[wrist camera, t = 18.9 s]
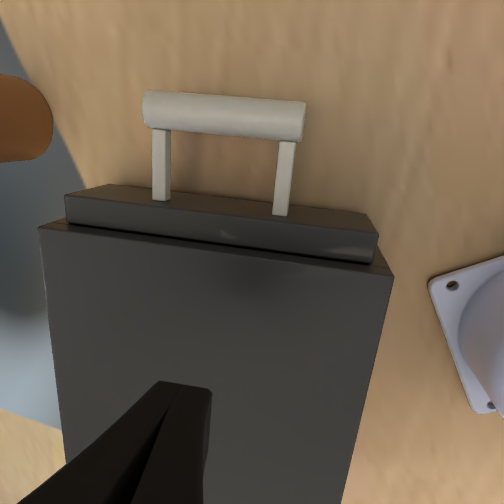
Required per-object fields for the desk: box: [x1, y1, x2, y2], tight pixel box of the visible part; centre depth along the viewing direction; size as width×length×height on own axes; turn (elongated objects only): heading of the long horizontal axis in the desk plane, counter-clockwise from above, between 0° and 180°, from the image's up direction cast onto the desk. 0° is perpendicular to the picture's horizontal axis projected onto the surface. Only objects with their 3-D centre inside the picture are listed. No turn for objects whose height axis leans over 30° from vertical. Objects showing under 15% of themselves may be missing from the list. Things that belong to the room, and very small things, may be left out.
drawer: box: [64, 90, 379, 263], centre depth 16 cm, size 18×12×3 cm
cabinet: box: [37, 218, 394, 504], centre depth 18 cm, size 15×14×5 cm
